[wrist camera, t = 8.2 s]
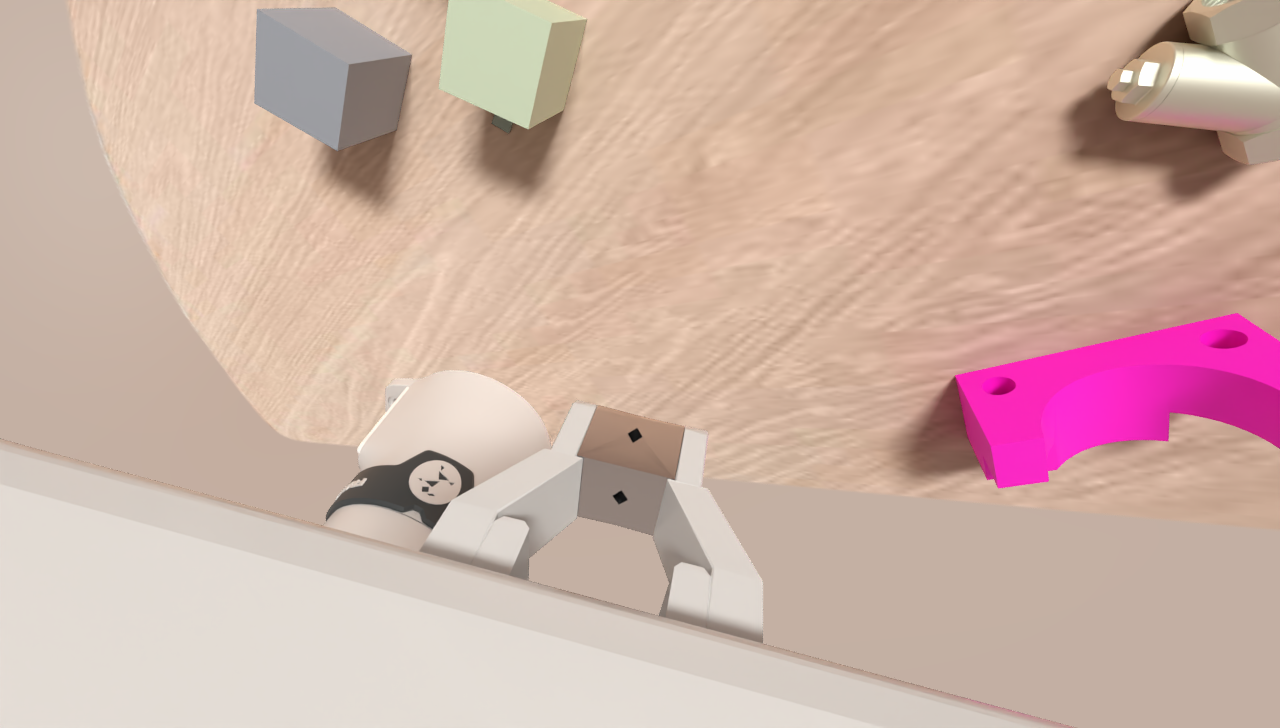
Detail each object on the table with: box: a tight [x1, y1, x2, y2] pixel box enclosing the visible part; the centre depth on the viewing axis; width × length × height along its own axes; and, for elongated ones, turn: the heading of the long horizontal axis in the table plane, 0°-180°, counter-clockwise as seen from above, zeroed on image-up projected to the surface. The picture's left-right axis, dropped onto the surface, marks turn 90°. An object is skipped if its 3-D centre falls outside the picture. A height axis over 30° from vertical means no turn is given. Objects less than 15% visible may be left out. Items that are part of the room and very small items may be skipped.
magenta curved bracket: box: [955, 313, 1280, 488], centre depth 32 cm, size 15×6×8 cm, turn 116°
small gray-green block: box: [492, 114, 513, 134], centre depth 32 cm, size 2×1×1 cm, turn 152°
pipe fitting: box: [1107, 0, 1280, 165], centre depth 24 cm, size 8×4×7 cm
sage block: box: [439, 0, 587, 129], centre depth 28 cm, size 5×5×6 cm
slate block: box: [254, 8, 412, 151], centre depth 30 cm, size 5×5×6 cm
